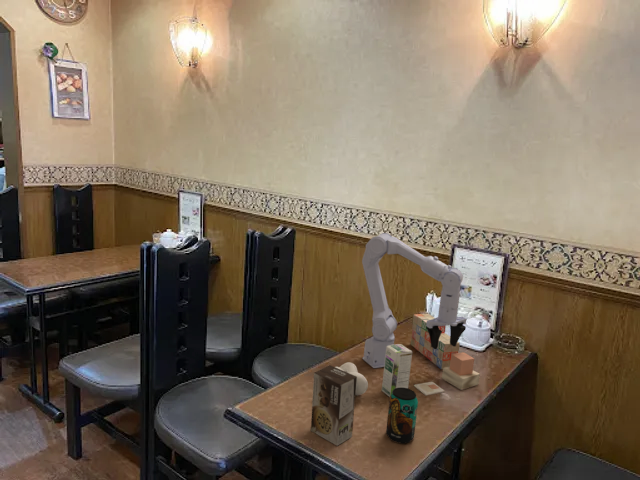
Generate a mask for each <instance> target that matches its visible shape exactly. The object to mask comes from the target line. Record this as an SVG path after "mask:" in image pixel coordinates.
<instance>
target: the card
mask: <svg viewBox="0 0 640 480" xmlns="http://www.w3.org/2000/svg"><path fill="white" fill-rule="evenodd" d="M413 387H414V388H416V389H417V390H418V391H420V392H421V393H422V394H423V395H424V396H430V395H434V394H440V393H445V390H444V389H443V388H442V387H440V386H439V385H438V384H437V383H435V382H433V381H428V382H423V383H417V384H413Z"/></svg>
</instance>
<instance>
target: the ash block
mask: <svg viewBox="0 0 640 480" xmlns="http://www.w3.org/2000/svg"><path fill="white" fill-rule="evenodd" d="M480 375H481V374H480V373H479V372H477V371H475V370H473V373H472V374H466V375H458V374H457V373H455V372H454V371H453V370H451V369H450V366H449V367H446V368H443V369H442V375H441V379H442V380H443V381H445V382H447V383H449V384H450V385H452V386H454V387H456V388H457V389H459V390H466V389H468V388H472V387H475V386H478V385H479V384H480Z"/></svg>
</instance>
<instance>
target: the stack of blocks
mask: <svg viewBox="0 0 640 480" xmlns="http://www.w3.org/2000/svg"><path fill="white" fill-rule="evenodd" d="M412 318H413V319H412V328H411V331H412V332H411V333H412V334H411V339H410V345H411V346H412V347H413V348H414V349H416V350H417V352H420V354H421V355H423V356H424V357H426V359H428V360H430V362H432V363H433V364H434V366H436V367H438V368H439V369H440V370H443V368H446V367H449V366H450V361H451V354H455V353H459V351H460V346H461V345H460V344H461V343H460V342H459V341H458V342H457V344H456V346H455V347H454V346H452V345H451V344H450V335H449V334H447V333H446V326H439V327H438V328H439V330H441V331H442V333H441V335H440V338H439V342H438V347H437V349H434V348H432V347H431V340H430V336H429V332H428V330H427V328H426V323H427V320H432V319H434V318H435V317H434V316H433V315H431V314H430V313H415V314H413V317H412Z"/></svg>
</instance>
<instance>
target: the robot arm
mask: <svg viewBox="0 0 640 480" xmlns="http://www.w3.org/2000/svg"><path fill="white" fill-rule="evenodd" d="M385 254H387V255H397V254H398V255H399V256H402V257H403V258H405V259H407V260H409V261H410V262H412V263H414V264H416V265H418V266H419V267H420V269H421V271H422V272H423V273H424V274H426V275H427V276H429V277H430V278H433V279H434V280H436V281H438V282H441V285H442V288H441V291H440V300H439V306H438V315H437V317H434V319H432V320H427V323H426V328H427V330H428V332H429V336H430V340H431V347H432V348H434V349H437V347H438V342H439V338H440V335H441V333H442V331H441V330H439V328H438V327H439V326H449V328H450V335H449V336H450V344H451V345H452V346H454V347H455V346H456V344H457V342H459V339H460V337H461V336H462V334H463V333H464V332H465V331H466V328H467V327H466V326H465V325H466V324H467V318H466V317H464V316H458V310H459V302H460V296H461V294H460V292H461V284H462V282H463V279H464V277H463V273H462V271H461V270H459V268H458V267H453V266H452V265H450V264H448V265H447V264H446V263H444V262H442V261H441V260H439V257H438V256H436V255H434V256H432V255H428V256H425V255H423V254H422V253H420V252H419V251H417V250H416V249H415V248H413V247H411V246H410V245H408V244H406V243H405V242H403V241H402V240H400V239H399V238H398V237H396V236H393V235H391V234H390V233H389V232H382V233H380V234H378V235H377V236H373V237H371V238H370V239H369V240H368V242H367V243H366V244H365V250H364V252H363V256H362V259H361V263H362V267H363V272H364V276H365V277H364V278H365V280H366V286H367V289H368V294H369V297H370V302H371V303H370V304H371V306H372V311H373V313H372V327H371V332H372V336H371V337H369V338H367V339H366V340H365V342H364V349H363V350H364V351H363V357H362V360H363V361H364V362H366V363H367V364H368V365H369V366H370V367H371V368H373V369H379V368H384V365H385V355H386V347H387V346H389V345H395V334H394V332H395V331H396V330H397V328H398V327H397V326H398V320H396V318H395V317H394V315H393V312H392V310H391V309H390V307H389V304H388V299H387V296H386V295H387V294H386V290H385V287H384V286H385V285H384V283H383V278H382V274H381V269H380V265H379V263H380V261H381V260H382V258H383V257H384V256H385Z"/></svg>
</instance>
